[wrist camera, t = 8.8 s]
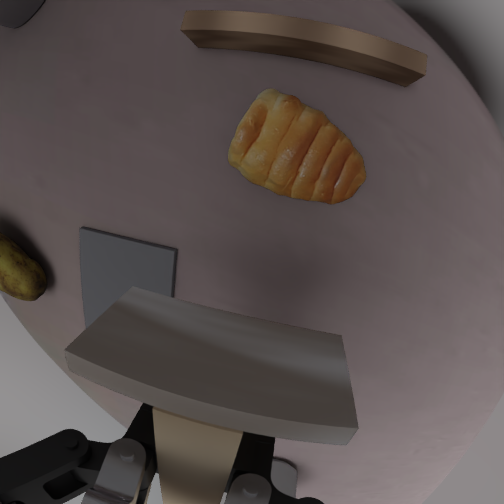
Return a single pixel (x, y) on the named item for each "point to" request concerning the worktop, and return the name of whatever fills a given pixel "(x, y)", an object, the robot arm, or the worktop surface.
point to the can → (284, 477)
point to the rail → (305, 42)
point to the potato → (20, 272)
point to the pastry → (295, 151)
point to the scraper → (215, 383)
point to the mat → (121, 269)
